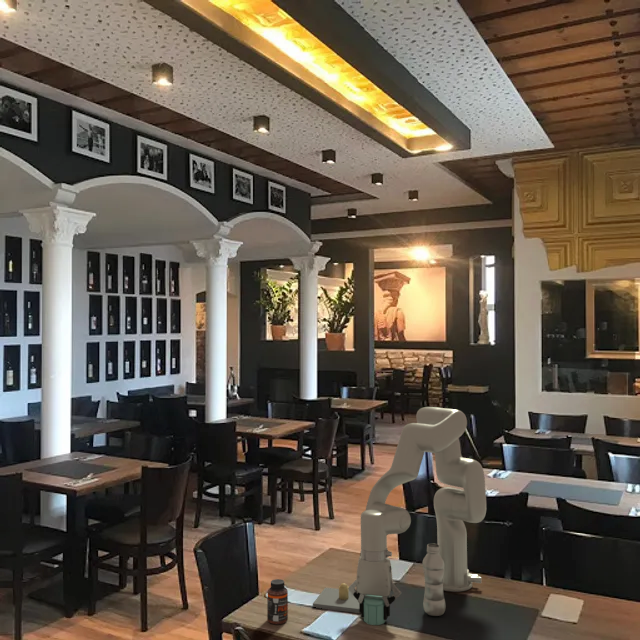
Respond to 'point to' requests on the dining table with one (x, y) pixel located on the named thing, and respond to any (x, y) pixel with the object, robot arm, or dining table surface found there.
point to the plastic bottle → (433, 581)
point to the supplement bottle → (277, 602)
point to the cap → (374, 610)
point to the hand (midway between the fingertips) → (374, 616)
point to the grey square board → (337, 599)
